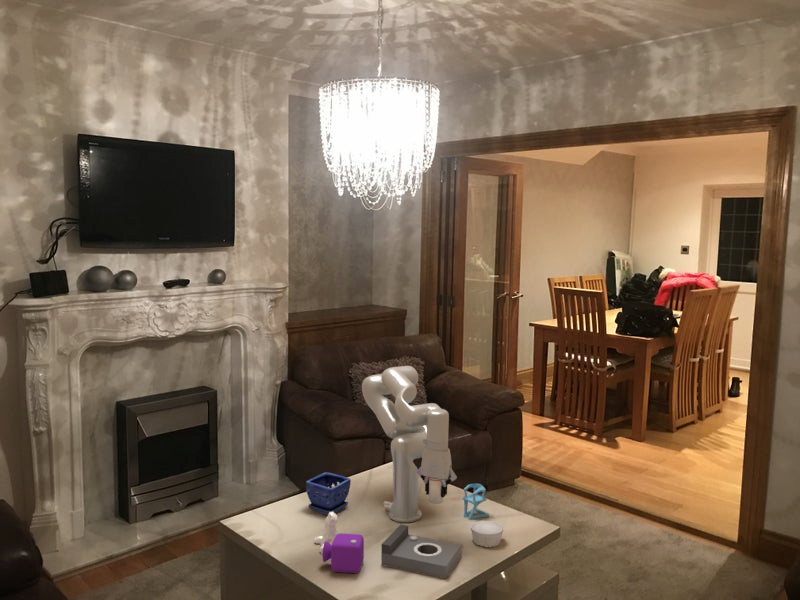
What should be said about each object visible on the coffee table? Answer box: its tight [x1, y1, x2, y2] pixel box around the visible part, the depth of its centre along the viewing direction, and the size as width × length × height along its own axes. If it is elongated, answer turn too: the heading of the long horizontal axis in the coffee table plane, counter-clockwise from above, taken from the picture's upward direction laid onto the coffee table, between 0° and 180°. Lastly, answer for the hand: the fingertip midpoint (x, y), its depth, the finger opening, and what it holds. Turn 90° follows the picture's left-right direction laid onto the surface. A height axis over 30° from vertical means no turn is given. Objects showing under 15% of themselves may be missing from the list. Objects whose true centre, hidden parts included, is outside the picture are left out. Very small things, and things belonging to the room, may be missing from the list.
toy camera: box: [320, 532, 365, 574], centre depth 209 cm, size 11×14×10 cm
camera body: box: [380, 524, 462, 580], centre depth 214 cm, size 22×16×7 cm
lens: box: [428, 477, 444, 505], centre depth 229 cm, size 5×5×9 cm
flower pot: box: [305, 472, 352, 516], centre depth 254 cm, size 13×13×12 cm
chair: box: [462, 483, 490, 520], centre depth 249 cm, size 8×8×12 cm
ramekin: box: [470, 520, 504, 548], centre depth 228 cm, size 11×11×5 cm
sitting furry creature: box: [314, 512, 340, 553], centre depth 223 cm, size 10×9×12 cm
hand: (435, 494), depth 229 cm, fingers closed on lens, 5 cm apart
